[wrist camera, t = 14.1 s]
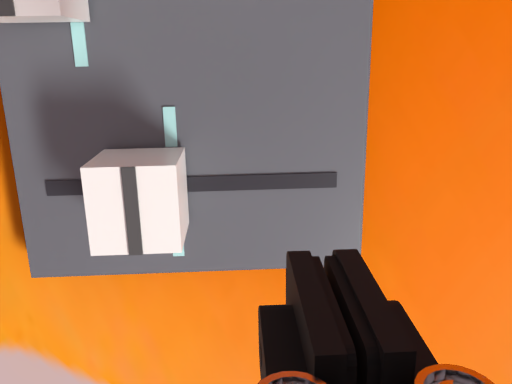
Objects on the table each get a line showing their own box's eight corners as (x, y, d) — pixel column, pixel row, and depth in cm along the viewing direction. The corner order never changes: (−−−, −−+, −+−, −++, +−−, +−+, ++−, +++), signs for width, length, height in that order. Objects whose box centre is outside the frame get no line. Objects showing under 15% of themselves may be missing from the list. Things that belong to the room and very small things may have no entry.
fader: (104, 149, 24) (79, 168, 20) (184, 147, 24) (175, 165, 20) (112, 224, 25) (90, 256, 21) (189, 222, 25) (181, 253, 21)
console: (-16, -134, 22) (-40, -153, 20) (368, -134, 23) (381, -152, 21) (45, 262, 28) (30, 278, 26) (351, 251, 29) (360, 266, 27)
